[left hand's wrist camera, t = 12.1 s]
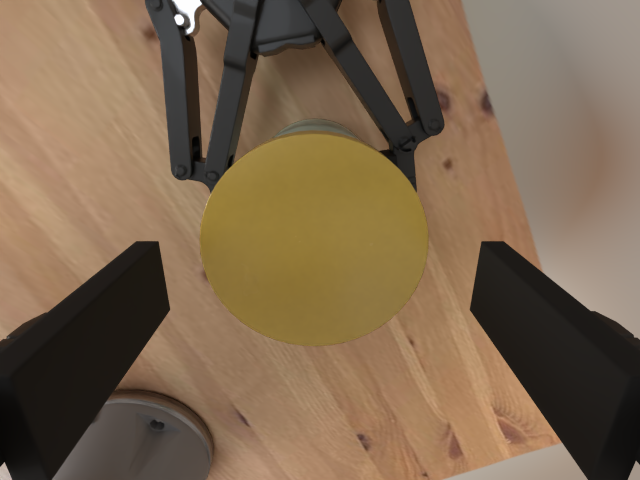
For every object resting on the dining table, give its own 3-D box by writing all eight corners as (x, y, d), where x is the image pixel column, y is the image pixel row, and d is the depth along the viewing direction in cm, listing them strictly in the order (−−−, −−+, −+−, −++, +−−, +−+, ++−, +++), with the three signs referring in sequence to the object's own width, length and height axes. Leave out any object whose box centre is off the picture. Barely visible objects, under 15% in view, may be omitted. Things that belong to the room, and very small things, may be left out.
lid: (333, 79, 15) (334, 76, 13) (457, 252, 17) (471, 267, 16) (165, 222, 17) (150, 235, 15) (300, 357, 20) (299, 379, 18)
